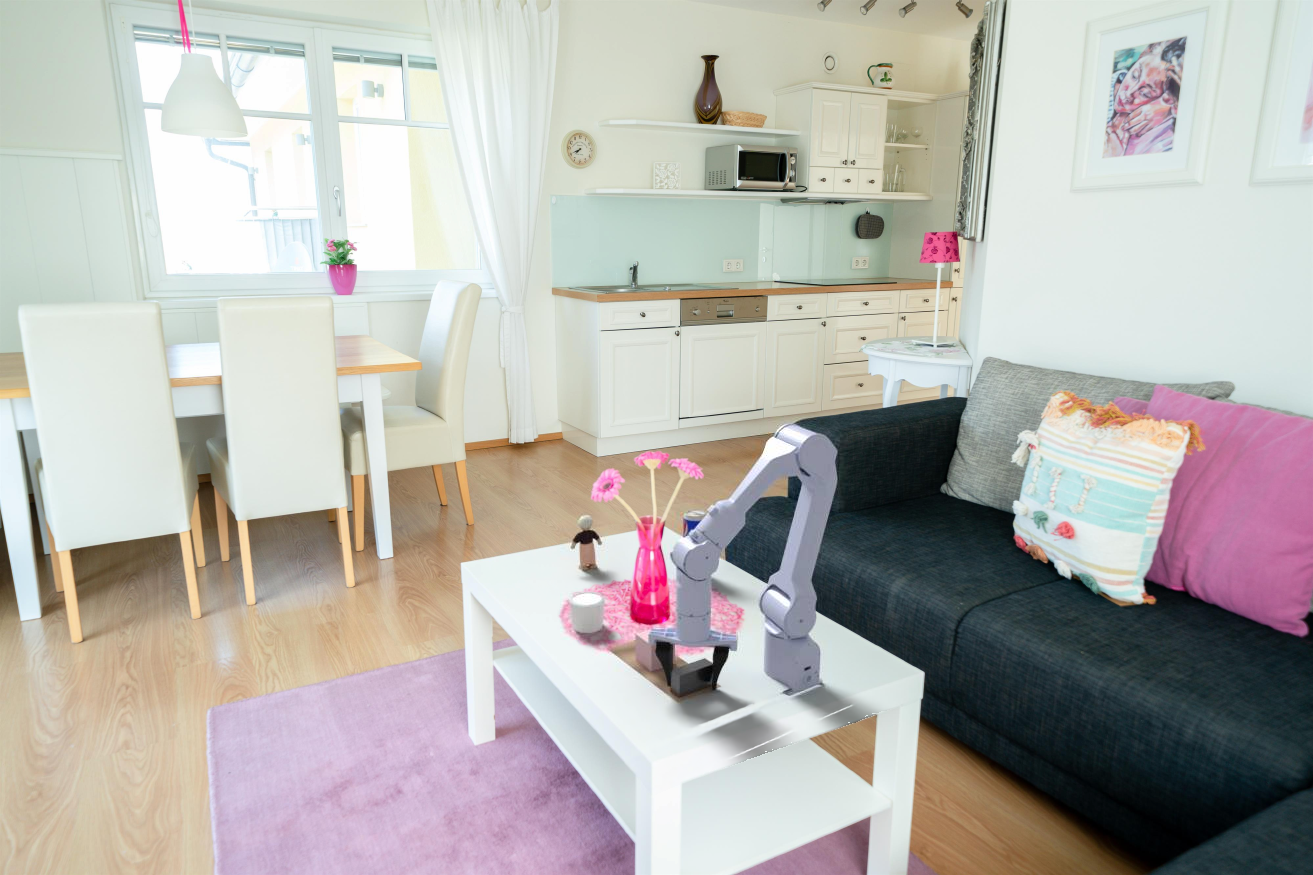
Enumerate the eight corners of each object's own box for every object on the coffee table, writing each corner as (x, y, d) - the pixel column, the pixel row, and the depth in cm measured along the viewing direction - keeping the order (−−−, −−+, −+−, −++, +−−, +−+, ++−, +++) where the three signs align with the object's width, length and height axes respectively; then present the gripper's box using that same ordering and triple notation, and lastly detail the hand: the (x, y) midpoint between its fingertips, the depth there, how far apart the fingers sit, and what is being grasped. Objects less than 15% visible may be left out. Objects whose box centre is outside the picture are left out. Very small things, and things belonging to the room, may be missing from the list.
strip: (720, 691, 138) (721, 664, 137) (677, 707, 133) (677, 679, 132) (648, 640, 156) (648, 616, 154) (607, 653, 151) (607, 628, 149)
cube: (674, 663, 145) (675, 637, 144) (651, 671, 142) (651, 644, 141) (658, 652, 149) (658, 626, 148) (635, 659, 146) (635, 633, 145)
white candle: (611, 634, 158) (610, 601, 157) (578, 643, 155) (578, 608, 153) (595, 621, 164) (595, 588, 163) (564, 628, 161) (563, 595, 159)
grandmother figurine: (594, 561, 196) (593, 510, 193) (604, 566, 193) (603, 514, 190) (567, 569, 191) (566, 517, 188) (576, 573, 188) (575, 521, 185)
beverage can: (678, 577, 186) (679, 514, 183) (688, 569, 190) (689, 508, 187) (699, 581, 184) (700, 517, 180) (709, 573, 188) (710, 511, 185)
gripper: (739, 602, 136) (737, 676, 139) (653, 596, 139) (653, 669, 142) (736, 620, 130) (734, 698, 133) (646, 614, 132) (646, 690, 135)
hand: (692, 685), depth 137 cm, fingers closed on strip, 7 cm apart
